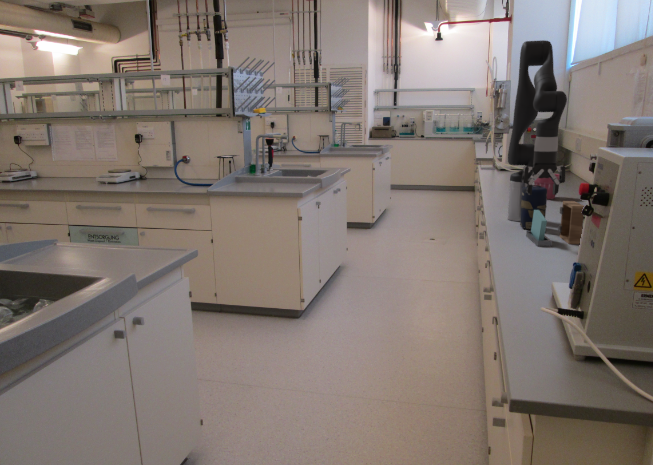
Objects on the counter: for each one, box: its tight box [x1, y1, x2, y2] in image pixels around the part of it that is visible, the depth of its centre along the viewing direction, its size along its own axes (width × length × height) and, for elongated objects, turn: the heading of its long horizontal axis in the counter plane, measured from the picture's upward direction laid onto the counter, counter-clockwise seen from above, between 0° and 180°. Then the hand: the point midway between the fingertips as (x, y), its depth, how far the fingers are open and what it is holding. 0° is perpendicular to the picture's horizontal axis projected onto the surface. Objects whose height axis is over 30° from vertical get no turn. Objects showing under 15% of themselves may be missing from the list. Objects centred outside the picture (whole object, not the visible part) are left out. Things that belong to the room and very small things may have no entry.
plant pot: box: [533, 173, 559, 200], centre depth 267 cm, size 14×14×13 cm
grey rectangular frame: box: [525, 230, 553, 247], centre depth 182 cm, size 15×5×2 cm, turn 173°
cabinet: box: [557, 200, 585, 245], centre depth 181 cm, size 10×5×14 cm, turn 173°
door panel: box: [530, 210, 548, 240], centre depth 182 cm, size 10×2×9 cm, turn 174°
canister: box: [519, 184, 548, 230], centre depth 200 cm, size 10×10×18 cm
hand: (542, 194), depth 178 cm, fingers open, 8 cm apart
